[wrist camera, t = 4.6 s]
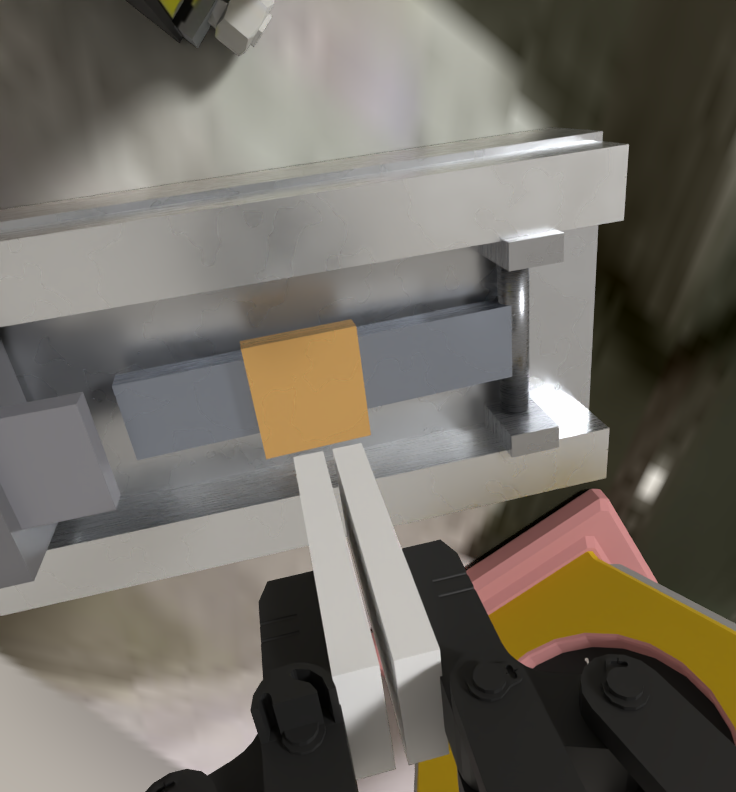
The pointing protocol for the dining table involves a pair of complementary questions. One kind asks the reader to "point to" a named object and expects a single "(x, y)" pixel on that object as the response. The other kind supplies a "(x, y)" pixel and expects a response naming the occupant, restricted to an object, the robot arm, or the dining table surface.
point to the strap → (330, 377)
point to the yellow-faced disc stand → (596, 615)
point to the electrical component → (210, 19)
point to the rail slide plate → (302, 308)
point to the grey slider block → (45, 473)
